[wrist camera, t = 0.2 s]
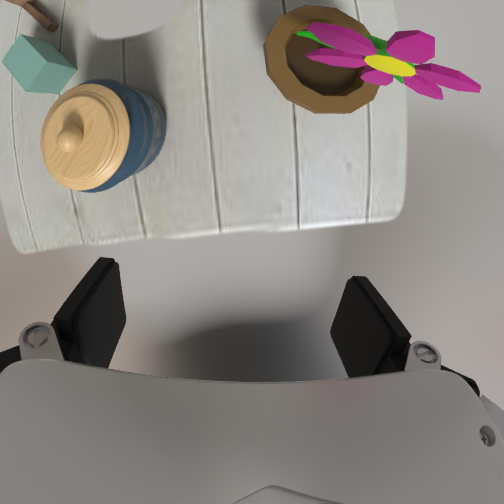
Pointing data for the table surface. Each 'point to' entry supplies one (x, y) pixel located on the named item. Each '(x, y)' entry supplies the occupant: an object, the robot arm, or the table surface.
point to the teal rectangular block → (38, 65)
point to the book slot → (35, 13)
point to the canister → (101, 135)
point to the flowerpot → (349, 61)
